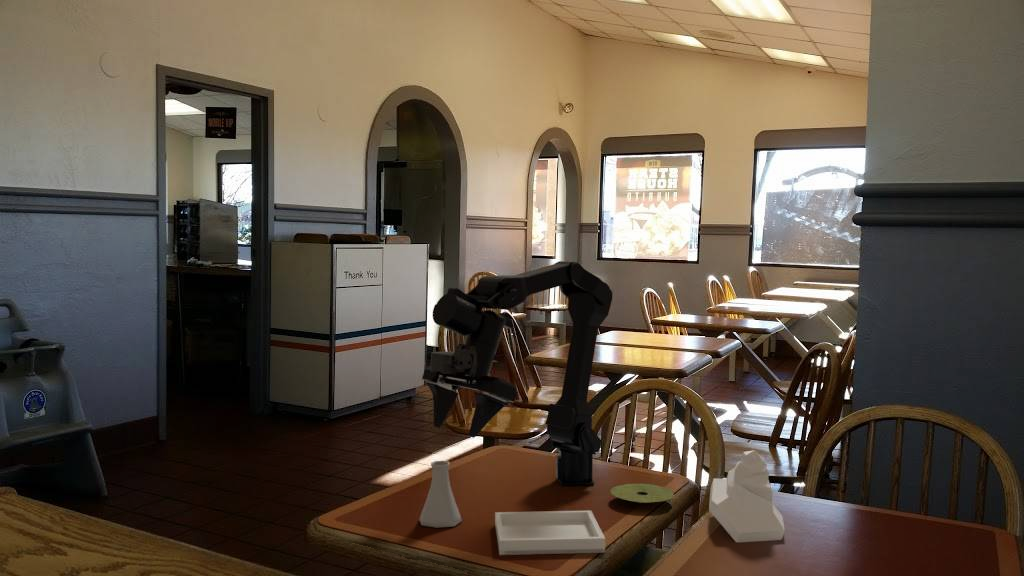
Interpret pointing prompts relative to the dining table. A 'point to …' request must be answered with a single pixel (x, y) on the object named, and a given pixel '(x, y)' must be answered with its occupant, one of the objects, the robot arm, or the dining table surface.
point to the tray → (548, 533)
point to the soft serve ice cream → (747, 502)
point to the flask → (440, 500)
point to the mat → (642, 493)
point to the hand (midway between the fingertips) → (453, 432)
